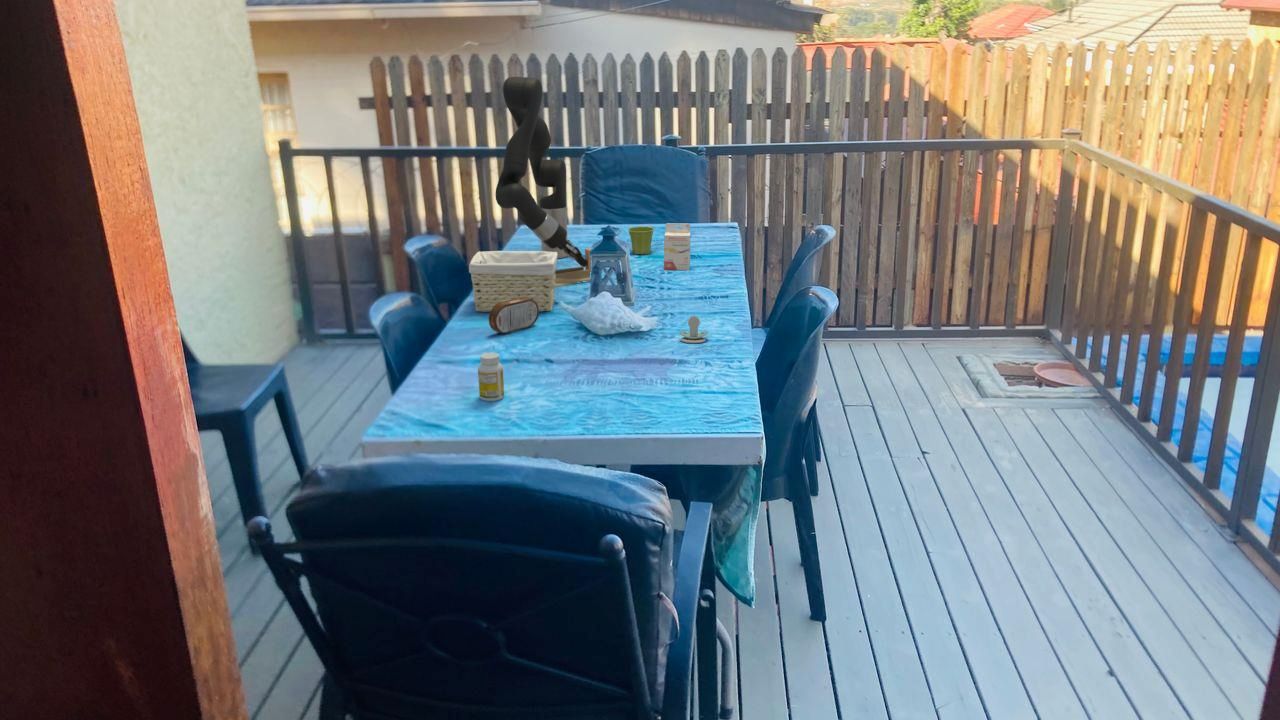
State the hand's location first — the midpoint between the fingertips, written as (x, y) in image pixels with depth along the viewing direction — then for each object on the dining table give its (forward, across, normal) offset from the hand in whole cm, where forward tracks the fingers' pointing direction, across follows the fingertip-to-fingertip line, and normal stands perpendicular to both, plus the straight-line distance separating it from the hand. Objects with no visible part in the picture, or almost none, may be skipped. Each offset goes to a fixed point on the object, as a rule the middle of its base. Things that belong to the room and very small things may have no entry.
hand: (585, 264), depth 306 cm
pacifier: (0, -73, +6) cm, 73 cm away
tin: (-25, -41, +32) cm, 58 cm away
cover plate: (+8, 0, -2) cm, 9 cm away
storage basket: (-19, -20, +26) cm, 37 cm away
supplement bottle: (-41, -84, +48) cm, 106 cm away
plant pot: (+26, +21, -20) cm, 39 cm away
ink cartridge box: (+25, -5, -19) cm, 32 cm away
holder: (-3, 0, +9) cm, 9 cm away
